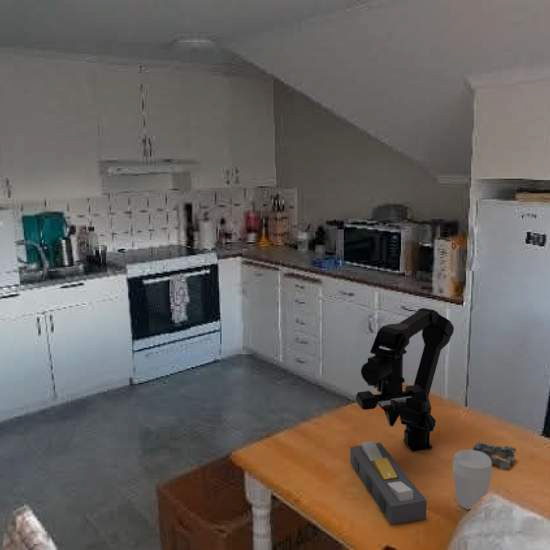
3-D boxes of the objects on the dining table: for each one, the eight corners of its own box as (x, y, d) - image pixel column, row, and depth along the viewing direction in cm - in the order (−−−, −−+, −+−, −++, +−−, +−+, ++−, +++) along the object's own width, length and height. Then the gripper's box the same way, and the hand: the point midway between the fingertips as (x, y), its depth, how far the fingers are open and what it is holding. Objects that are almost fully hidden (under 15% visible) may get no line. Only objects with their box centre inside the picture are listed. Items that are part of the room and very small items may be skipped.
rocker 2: (385, 463, 149) (386, 457, 148) (396, 483, 143) (397, 476, 142) (373, 465, 148) (373, 459, 147) (383, 485, 142) (384, 478, 141)
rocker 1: (373, 446, 158) (373, 440, 157) (382, 465, 152) (383, 458, 150) (360, 448, 157) (361, 442, 156) (370, 467, 151) (370, 460, 150)
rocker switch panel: (380, 458, 160) (380, 442, 159) (426, 518, 134) (426, 500, 133) (349, 463, 159) (349, 447, 158) (390, 525, 132) (390, 506, 131)
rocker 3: (401, 490, 140) (400, 480, 140) (413, 499, 133) (412, 489, 133) (387, 492, 140) (386, 483, 140) (399, 501, 133) (398, 492, 133)
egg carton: (517, 461, 157) (518, 448, 156) (506, 473, 152) (507, 459, 151) (480, 448, 164) (481, 436, 163) (468, 459, 159) (469, 446, 158)
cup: (446, 493, 143) (447, 450, 141) (480, 490, 144) (482, 447, 141) (460, 515, 135) (462, 470, 132) (496, 512, 135) (499, 467, 133)
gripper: (410, 358, 161) (409, 408, 164) (348, 365, 157) (349, 417, 160) (429, 372, 150) (427, 426, 153) (363, 380, 146) (363, 435, 149)
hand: (391, 425), depth 154 cm, fingers closed
